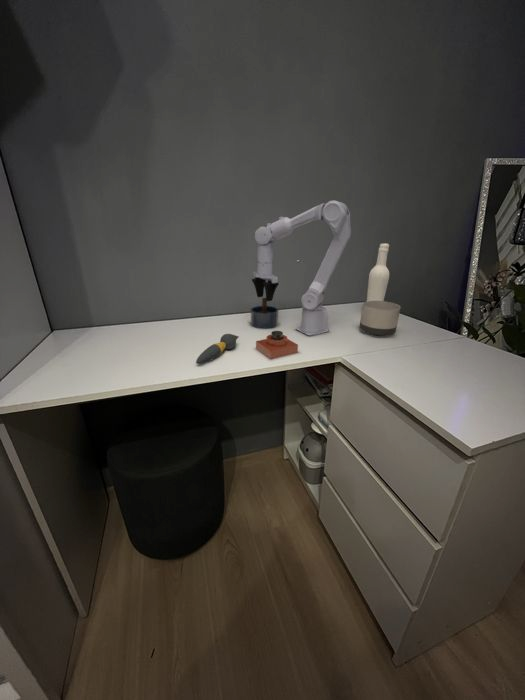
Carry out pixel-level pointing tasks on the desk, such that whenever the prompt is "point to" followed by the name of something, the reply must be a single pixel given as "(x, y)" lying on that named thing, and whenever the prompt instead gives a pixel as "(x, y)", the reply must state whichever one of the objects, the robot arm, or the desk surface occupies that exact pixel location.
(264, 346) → the knobbed square stamp
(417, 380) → the desk surface
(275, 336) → the pump button
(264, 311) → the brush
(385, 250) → the bottle
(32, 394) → the desk surface
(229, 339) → the paintbrush
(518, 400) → the desk surface
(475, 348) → the desk surface
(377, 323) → the planter
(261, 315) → the dark blue round bowl
